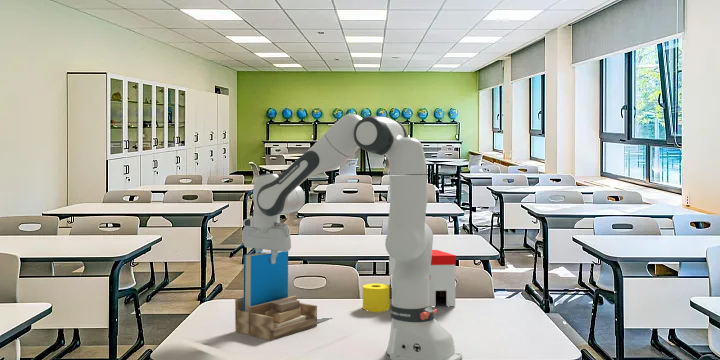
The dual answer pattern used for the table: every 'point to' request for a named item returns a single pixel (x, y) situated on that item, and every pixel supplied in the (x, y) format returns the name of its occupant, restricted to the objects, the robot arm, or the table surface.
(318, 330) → the table surface
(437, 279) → the red-lidded white box
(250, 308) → the rack
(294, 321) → the offcut large
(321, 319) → the mat
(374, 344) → the table surface
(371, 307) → the tape roll
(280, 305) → the offcut small
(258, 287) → the book
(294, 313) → the offcut medium
